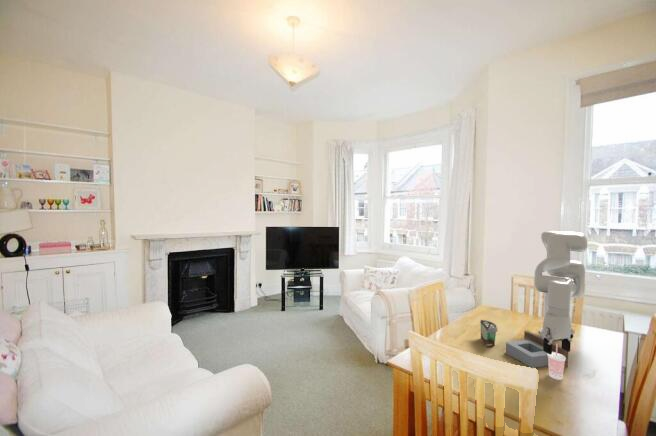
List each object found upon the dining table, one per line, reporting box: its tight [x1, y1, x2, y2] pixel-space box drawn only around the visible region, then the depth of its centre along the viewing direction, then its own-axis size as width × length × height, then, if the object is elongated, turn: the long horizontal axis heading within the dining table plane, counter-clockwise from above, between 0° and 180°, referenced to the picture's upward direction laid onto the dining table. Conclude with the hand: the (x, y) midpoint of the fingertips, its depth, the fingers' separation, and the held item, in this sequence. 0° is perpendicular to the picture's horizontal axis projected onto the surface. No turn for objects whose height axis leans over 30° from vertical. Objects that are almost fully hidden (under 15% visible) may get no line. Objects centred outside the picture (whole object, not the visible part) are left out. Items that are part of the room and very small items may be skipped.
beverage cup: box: [547, 343, 566, 381], centre depth 122 cm, size 6×6×14 cm
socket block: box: [505, 339, 554, 369], centre depth 136 cm, size 14×14×5 cm
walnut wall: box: [523, 330, 569, 369], centre depth 138 cm, size 2×20×8 cm, turn 14°
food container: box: [480, 319, 498, 348], centre depth 151 cm, size 12×6×10 cm, turn 168°
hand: (556, 351), depth 121 cm, fingers open, 9 cm apart
